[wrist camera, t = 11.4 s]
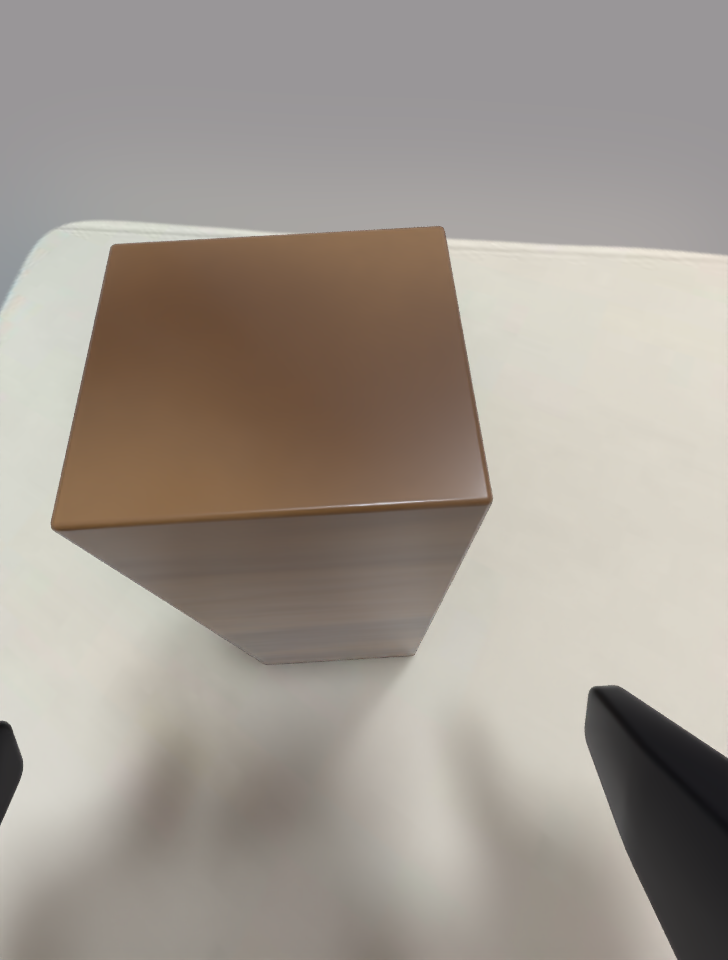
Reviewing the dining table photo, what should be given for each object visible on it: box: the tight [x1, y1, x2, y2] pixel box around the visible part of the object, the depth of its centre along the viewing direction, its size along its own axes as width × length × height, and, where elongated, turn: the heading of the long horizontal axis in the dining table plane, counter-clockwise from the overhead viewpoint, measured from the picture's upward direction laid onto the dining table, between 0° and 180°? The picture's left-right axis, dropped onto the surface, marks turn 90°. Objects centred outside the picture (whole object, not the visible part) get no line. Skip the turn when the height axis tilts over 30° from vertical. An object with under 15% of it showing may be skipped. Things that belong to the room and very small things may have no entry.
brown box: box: [51, 226, 493, 665], centre depth 14 cm, size 5×6×14 cm
